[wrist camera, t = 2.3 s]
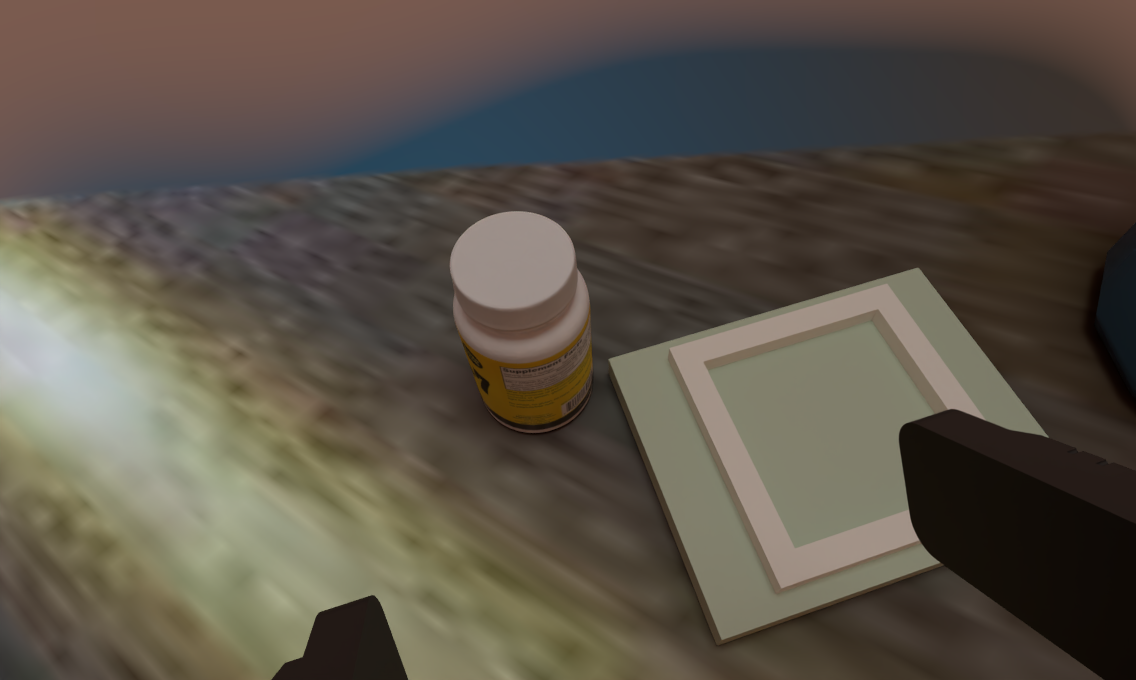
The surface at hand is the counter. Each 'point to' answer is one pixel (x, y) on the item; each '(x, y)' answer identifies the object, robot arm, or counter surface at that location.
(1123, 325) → the wine bottle
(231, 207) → the counter surface
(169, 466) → the counter surface
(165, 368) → the counter surface
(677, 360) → the grey-green flat tray
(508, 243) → the supplement bottle
